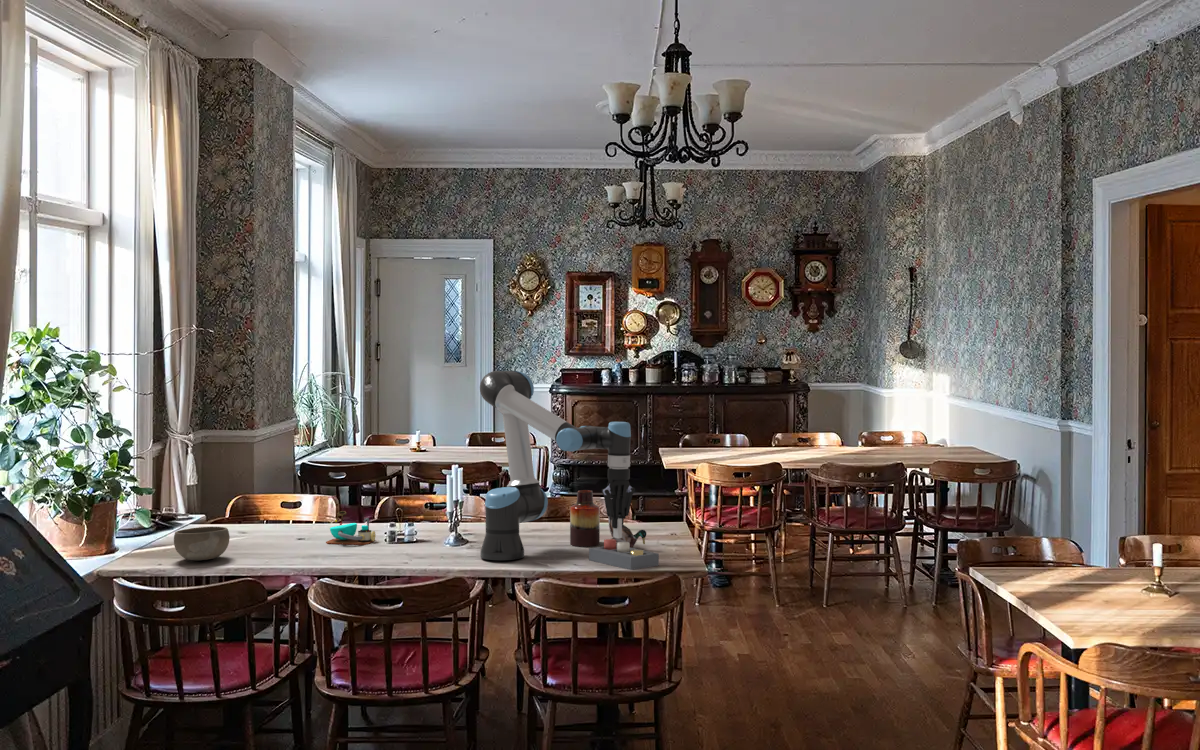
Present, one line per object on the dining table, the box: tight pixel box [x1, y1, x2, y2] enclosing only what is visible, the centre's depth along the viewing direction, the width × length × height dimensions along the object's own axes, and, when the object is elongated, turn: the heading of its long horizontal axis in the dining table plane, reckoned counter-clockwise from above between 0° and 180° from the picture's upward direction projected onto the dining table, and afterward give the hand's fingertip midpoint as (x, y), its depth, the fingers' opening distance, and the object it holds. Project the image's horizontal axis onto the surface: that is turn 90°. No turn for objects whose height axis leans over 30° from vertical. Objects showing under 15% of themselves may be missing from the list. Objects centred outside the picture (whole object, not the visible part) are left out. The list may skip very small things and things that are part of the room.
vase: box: [569, 489, 601, 548], centre depth 375 cm, size 11×11×20 cm
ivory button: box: [616, 542, 630, 553], centre depth 342 cm, size 4×4×4 cm
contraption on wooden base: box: [325, 510, 376, 546], centre depth 379 cm, size 14×18×15 cm
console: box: [588, 544, 660, 571], centre depth 342 cm, size 12×22×4 cm, turn 39°
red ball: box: [603, 538, 617, 550], centre depth 348 cm, size 4×4×4 cm
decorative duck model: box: [607, 516, 647, 548], centre depth 368 cm, size 15×8×15 cm, turn 60°
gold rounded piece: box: [631, 549, 644, 556], centre depth 337 cm, size 4×4×4 cm
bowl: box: [173, 526, 231, 561], centre depth 350 cm, size 17×18×10 cm
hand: (617, 537), depth 344 cm, fingers closed
